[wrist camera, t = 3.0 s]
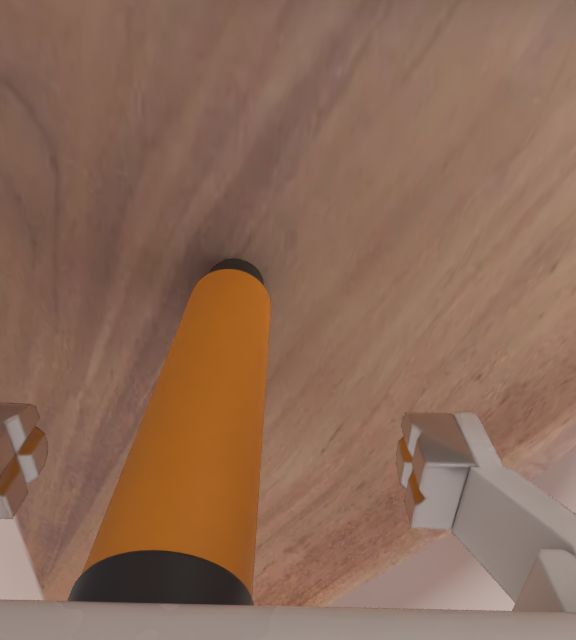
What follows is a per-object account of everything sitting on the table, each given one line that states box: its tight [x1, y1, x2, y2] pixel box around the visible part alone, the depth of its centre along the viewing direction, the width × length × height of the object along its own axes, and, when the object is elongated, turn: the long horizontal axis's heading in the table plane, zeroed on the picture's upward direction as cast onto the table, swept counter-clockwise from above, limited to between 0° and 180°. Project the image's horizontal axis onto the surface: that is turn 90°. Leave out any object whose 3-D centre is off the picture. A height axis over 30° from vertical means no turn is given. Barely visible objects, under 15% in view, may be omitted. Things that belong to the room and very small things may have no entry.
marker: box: [68, 259, 271, 605], centre depth 11 cm, size 3×3×13 cm
